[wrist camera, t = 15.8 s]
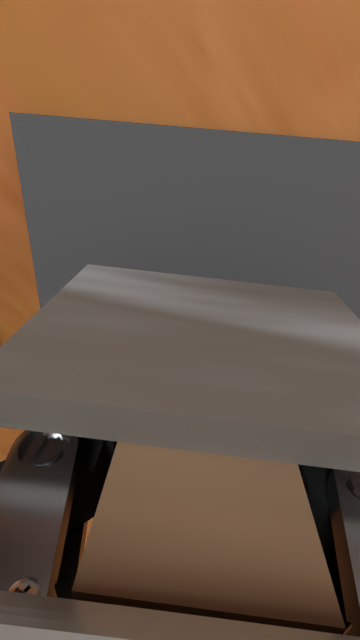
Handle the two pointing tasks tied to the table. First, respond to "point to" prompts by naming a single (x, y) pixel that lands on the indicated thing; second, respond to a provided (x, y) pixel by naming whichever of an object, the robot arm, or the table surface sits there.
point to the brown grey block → (197, 435)
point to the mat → (189, 203)
